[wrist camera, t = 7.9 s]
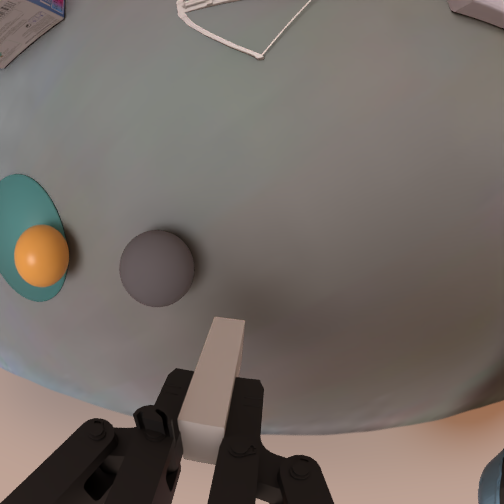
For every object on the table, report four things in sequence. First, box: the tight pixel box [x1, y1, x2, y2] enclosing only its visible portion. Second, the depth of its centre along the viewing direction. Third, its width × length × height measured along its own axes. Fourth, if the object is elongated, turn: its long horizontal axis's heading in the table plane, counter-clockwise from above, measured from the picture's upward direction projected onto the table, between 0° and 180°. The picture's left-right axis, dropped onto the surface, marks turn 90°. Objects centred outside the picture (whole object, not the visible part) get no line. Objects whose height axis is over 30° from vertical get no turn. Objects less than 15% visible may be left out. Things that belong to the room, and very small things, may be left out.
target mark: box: [0, 174, 67, 302], centre depth 23 cm, size 14×14×1 cm
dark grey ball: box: [119, 230, 194, 307], centre depth 20 cm, size 6×6×6 cm
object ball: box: [14, 225, 69, 287], centre depth 21 cm, size 6×6×6 cm
